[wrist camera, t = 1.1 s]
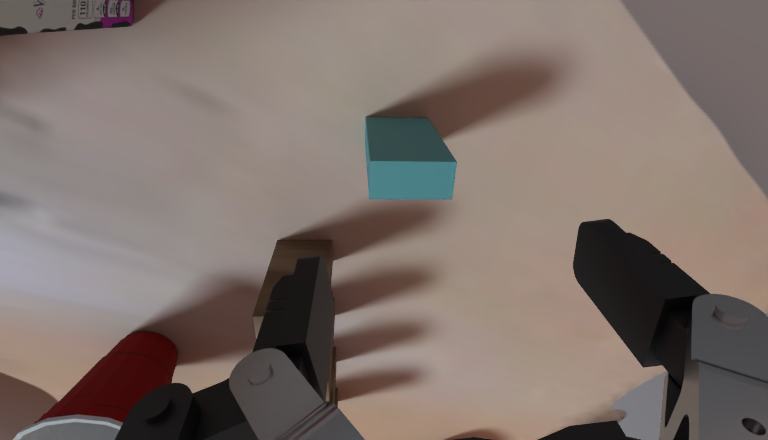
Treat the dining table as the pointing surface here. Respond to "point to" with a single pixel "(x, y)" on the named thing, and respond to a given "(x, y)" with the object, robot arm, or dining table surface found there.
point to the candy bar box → (63, 15)
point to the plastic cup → (108, 391)
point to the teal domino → (407, 160)
